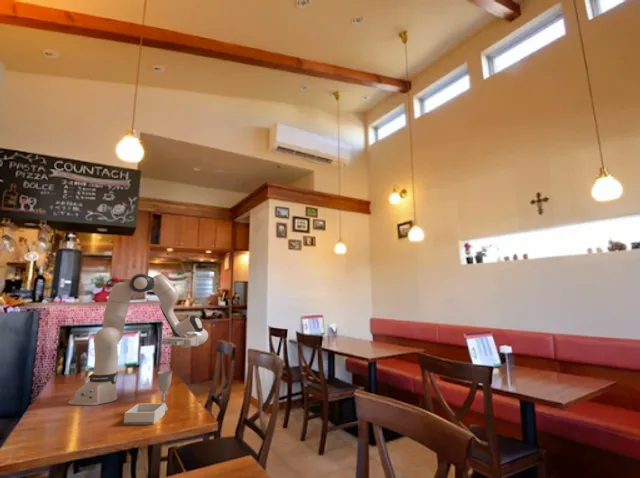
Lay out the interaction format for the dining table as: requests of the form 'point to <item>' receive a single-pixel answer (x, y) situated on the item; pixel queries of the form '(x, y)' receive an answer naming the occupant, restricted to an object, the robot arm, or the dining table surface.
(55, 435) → the dining table surface
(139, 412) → the walled box
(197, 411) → the dining table surface
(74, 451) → the dining table surface
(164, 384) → the chalice
